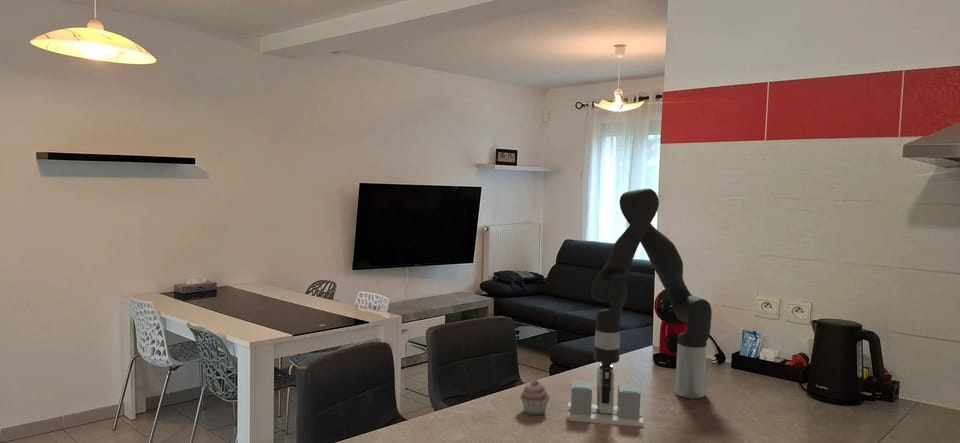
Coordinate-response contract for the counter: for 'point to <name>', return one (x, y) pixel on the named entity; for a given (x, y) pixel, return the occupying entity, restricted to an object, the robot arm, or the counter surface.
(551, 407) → the counter surface
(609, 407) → the skincare box
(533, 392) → the cupcake
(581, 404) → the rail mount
